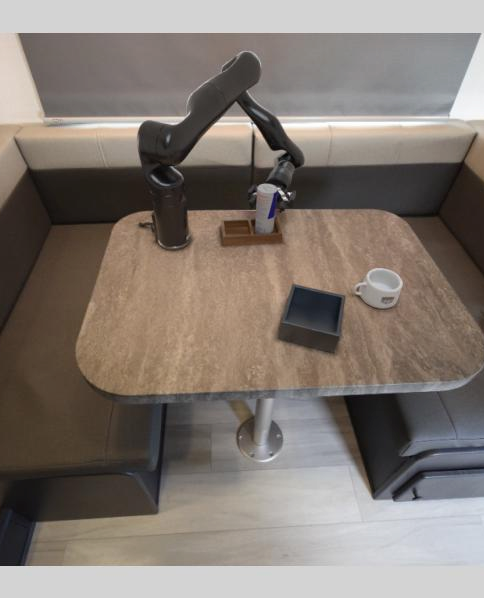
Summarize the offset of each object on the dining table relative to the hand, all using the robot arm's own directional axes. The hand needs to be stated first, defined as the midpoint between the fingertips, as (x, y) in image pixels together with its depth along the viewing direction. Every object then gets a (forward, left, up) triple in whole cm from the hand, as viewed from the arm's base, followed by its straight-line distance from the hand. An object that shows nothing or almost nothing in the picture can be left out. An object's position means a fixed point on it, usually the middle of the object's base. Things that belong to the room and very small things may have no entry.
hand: (266, 207), depth 102 cm
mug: (+36, -11, -9) cm, 39 cm away
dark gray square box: (+25, -28, -9) cm, 39 cm away
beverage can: (0, 0, -9) cm, 9 cm away
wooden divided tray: (-3, -3, -9) cm, 10 cm away
